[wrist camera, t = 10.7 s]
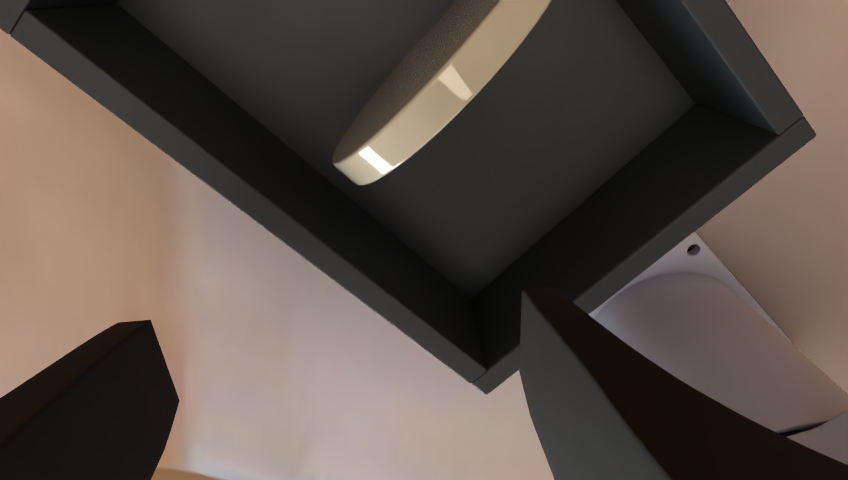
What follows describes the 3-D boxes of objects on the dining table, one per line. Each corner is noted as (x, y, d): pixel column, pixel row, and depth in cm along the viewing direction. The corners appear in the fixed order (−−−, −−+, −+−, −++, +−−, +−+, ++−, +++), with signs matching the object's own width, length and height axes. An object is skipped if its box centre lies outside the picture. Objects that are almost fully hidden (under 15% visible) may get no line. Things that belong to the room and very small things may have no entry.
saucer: (516, -26, 17) (622, -56, 10) (358, 148, 18) (350, 228, 11) (497, -48, 16) (592, -96, 9) (338, 130, 18) (317, 203, 11)
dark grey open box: (717, 99, 19) (818, 135, 14) (468, 313, 23) (486, 396, 18) (347, -393, 13) (320, -596, 9) (90, 3, 17) (-26, 9, 12)
